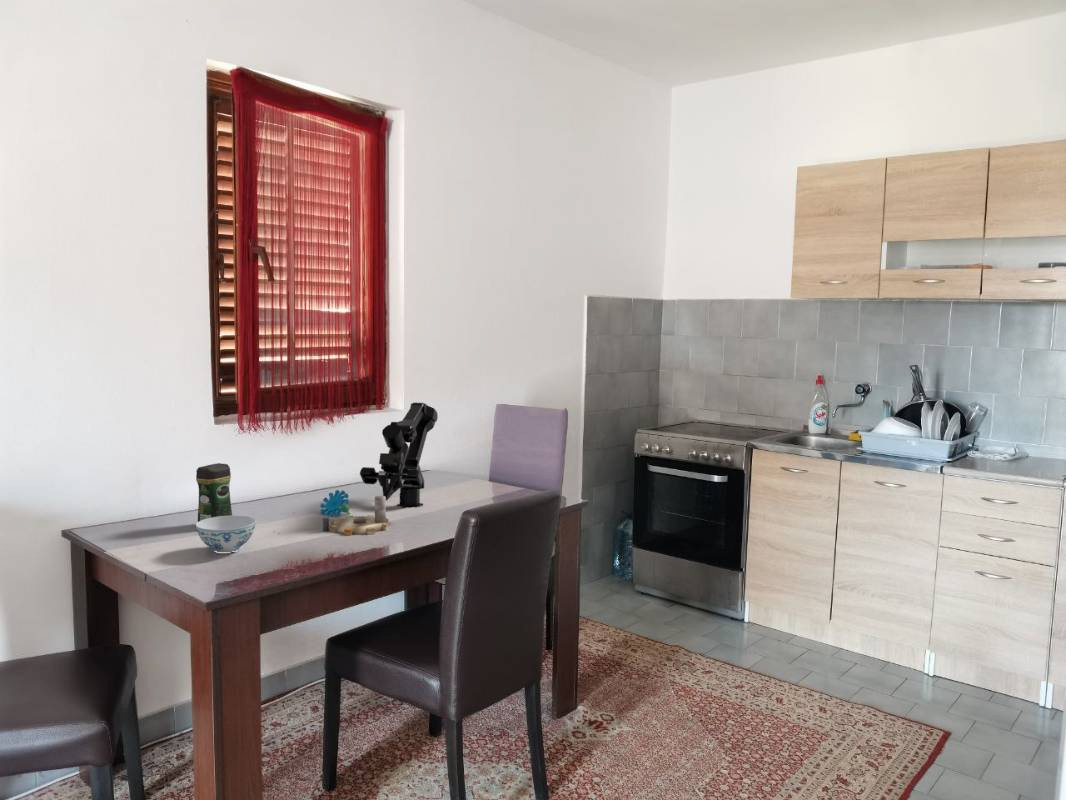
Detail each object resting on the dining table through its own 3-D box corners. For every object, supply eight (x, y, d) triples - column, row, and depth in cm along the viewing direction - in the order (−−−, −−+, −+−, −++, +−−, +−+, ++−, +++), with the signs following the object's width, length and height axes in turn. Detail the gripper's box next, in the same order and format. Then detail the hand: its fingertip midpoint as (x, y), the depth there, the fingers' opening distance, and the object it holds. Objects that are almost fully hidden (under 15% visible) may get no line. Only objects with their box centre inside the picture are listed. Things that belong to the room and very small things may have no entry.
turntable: (329, 535, 231) (328, 504, 230) (331, 521, 248) (331, 492, 247) (389, 533, 235) (389, 503, 234) (387, 519, 251) (387, 490, 250)
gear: (312, 509, 258) (332, 485, 262) (322, 519, 262) (341, 495, 266) (335, 520, 251) (355, 494, 256) (345, 530, 255) (364, 504, 260)
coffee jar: (217, 520, 249) (216, 460, 247) (237, 523, 246) (235, 463, 244) (192, 527, 240) (190, 465, 239) (212, 530, 237) (210, 468, 235)
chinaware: (237, 539, 228) (236, 512, 228) (267, 550, 219) (266, 522, 218) (185, 550, 217) (185, 522, 216) (215, 562, 207) (214, 532, 206)
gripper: (361, 441, 251) (348, 483, 242) (420, 443, 249) (409, 486, 239) (370, 462, 260) (358, 503, 250) (427, 464, 257) (416, 506, 247)
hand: (385, 499), depth 246 cm, fingers closed
